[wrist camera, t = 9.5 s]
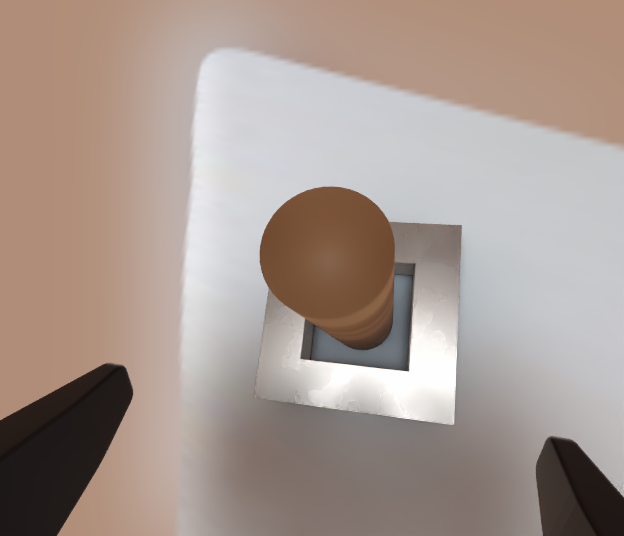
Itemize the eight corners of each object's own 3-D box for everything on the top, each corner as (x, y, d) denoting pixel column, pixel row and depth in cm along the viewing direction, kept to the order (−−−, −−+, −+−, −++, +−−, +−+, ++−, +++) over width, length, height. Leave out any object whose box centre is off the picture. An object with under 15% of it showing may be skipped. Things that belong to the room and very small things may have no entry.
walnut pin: (390, 353, 22) (389, 324, 9) (328, 346, 22) (250, 311, 10) (394, 291, 22) (399, 188, 10) (334, 287, 23) (269, 184, 11)
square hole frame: (446, 419, 20) (454, 425, 18) (268, 395, 22) (253, 397, 20) (454, 241, 22) (461, 225, 20) (289, 232, 24) (278, 217, 22)
